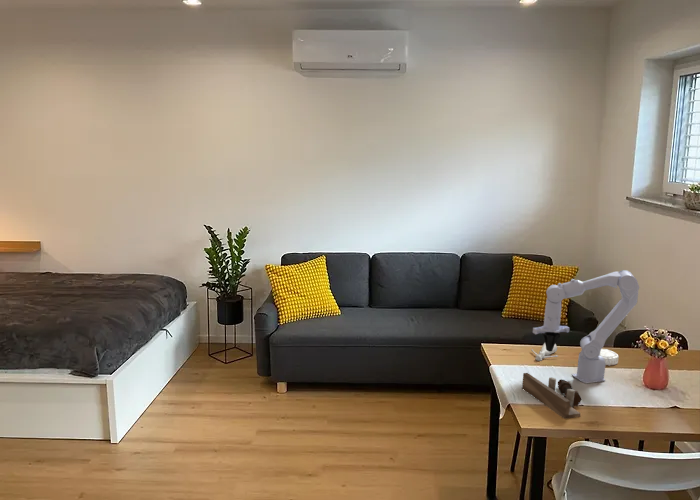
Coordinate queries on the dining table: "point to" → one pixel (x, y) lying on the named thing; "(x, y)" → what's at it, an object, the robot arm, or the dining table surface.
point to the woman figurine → (545, 353)
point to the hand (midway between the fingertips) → (549, 350)
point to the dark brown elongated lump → (563, 388)
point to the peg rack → (551, 396)
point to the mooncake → (609, 356)
